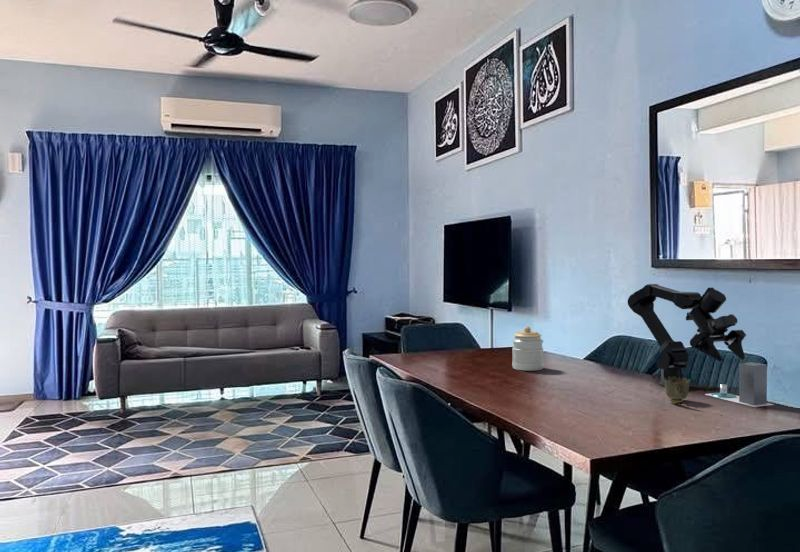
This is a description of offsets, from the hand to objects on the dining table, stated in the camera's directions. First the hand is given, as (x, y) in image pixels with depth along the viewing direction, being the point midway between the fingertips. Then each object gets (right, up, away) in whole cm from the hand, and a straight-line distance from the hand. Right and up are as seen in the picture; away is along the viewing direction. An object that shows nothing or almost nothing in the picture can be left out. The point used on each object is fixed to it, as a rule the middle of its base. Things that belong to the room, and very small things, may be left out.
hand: (732, 359), depth 196 cm
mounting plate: (+1, -13, -2) cm, 13 cm away
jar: (-52, -13, +64) cm, 83 cm away
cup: (-19, -14, -3) cm, 24 cm away
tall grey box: (+3, -12, -7) cm, 14 cm away
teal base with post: (-1, -13, +4) cm, 14 cm away
